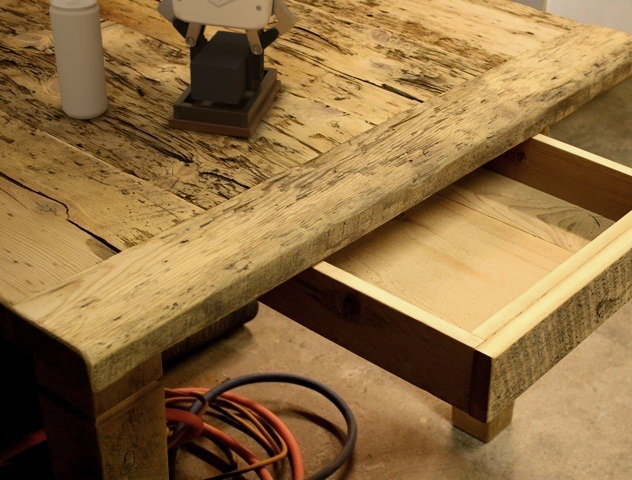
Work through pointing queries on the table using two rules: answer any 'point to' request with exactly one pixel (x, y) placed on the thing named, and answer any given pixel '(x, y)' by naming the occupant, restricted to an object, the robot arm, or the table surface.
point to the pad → (220, 69)
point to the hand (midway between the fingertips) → (227, 80)
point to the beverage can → (79, 57)
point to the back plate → (227, 110)
